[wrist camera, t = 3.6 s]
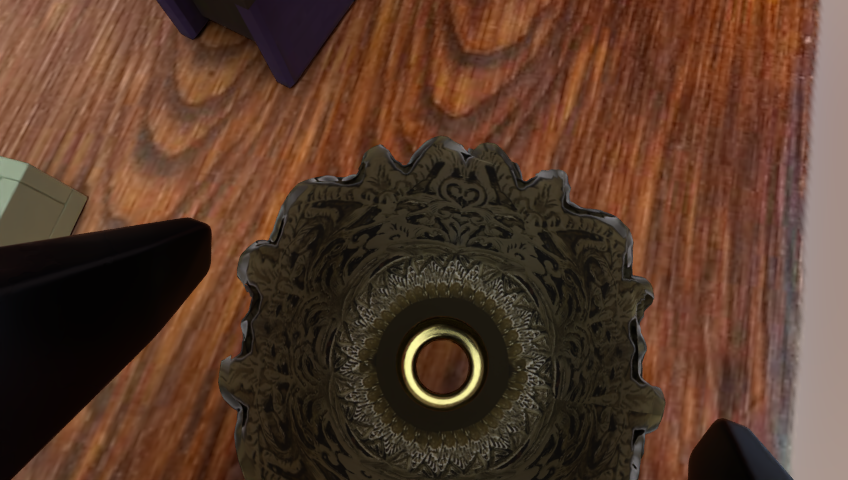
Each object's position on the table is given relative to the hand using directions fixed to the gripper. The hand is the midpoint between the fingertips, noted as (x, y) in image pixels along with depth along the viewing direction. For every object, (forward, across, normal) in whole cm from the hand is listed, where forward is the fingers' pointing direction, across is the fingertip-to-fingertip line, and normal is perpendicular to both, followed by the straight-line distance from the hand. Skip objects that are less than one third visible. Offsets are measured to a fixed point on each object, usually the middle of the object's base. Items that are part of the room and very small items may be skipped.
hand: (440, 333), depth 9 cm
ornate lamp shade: (+6, 0, +6) cm, 8 cm away
